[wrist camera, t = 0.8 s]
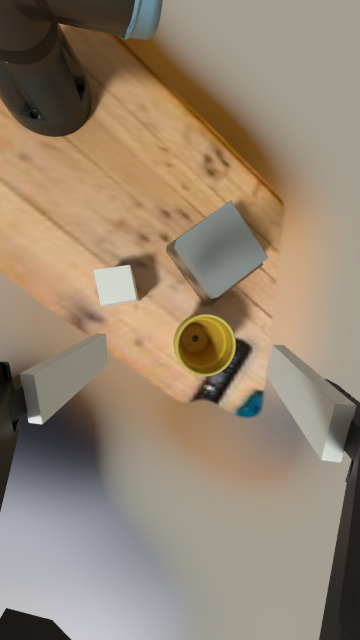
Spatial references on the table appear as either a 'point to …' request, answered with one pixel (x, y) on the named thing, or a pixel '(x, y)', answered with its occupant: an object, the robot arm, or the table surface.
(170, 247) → the walnut base slab
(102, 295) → the matte white cube
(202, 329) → the plant pot
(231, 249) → the gray square slab
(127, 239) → the table surface
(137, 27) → the robot arm
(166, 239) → the table surface
